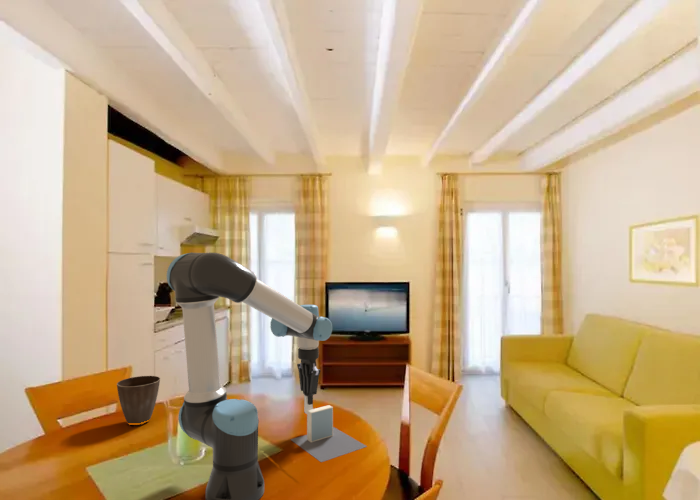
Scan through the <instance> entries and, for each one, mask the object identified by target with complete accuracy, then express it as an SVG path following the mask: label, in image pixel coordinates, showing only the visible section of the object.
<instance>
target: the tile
mask: <svg viewBox="0 0 700 500" xmlns="http://www.w3.org/2000/svg"><path fill="white" fill-rule="evenodd" d="M333 427H334V406H332V405H330V404H328V405H324V406H320V407H317V408H316V407H315V408H313V409H311V410H307V414H306V435H307V440H308V441H310V442H314V441H317V440H321V439H324V438H327V437H330V436H333Z"/></svg>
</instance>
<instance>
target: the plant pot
mask: <svg viewBox="0 0 700 500" xmlns="http://www.w3.org/2000/svg"><path fill="white" fill-rule="evenodd" d="M160 381H161V377H160V376H156V375H141V376H140V375H139V376H133V377H129V378H124V379H122V380H119V381H118V382H117V383H116V387H117V394H118V399H119V403H120V407H121V410H122V413H123V416H124V418H125V421H126V423H127V422H128V423H141V422H144V421H147V420H149V419H150V420H151V418H152V415H153V414H154V413H153V412H154V409H155V406H156V402H157V398H158V395H159V394H158V393H159V390H160V389H159V388H160ZM128 423H127V424H128Z"/></svg>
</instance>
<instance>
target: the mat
mask: <svg viewBox="0 0 700 500" xmlns="http://www.w3.org/2000/svg"><path fill="white" fill-rule="evenodd" d="M290 441H292V442H293V443H294V444H296V445H297V446H299V447H300V448H301V449H302V450H303V451H305V452H306V453H308V454H309V455H311V456H312V457H313V458H315V459H316V460H317V461H319V462H320V463H323V462H326V461H329V460H332V459H335V458H338V457H341V456H343V455H344V456H345V455H347V454H350V453H354V452H356V451H359V450H361V449H365V448H367V447H368V446H367V445H366V444H364V443H362V442H360V441H359V440H357V439H355V438H354V437H352V436H351V435H348V434H347V433H345V432H343V431H341V430H339V429H338V428H337V427H335V426H333V436H330V437H327V438H324V439H321V440H317V441H314V442H310V441H308V440H307V434H304V435H300V436H298V437H293V438H290Z"/></svg>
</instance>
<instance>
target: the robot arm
mask: <svg viewBox="0 0 700 500" xmlns="http://www.w3.org/2000/svg"><path fill="white" fill-rule="evenodd" d="M166 281H167V284H168V286H169V287H170V288H171V290H173V291H174V296H175V297H174V298H175V303H176V304H177V305H178V306H180V307H181V310H182V320H183V333H184V344H185V357H186V359H185V360H186V369H187V380H188V381H187V382H188V383H187V384H188V391H187V392H186V393H185V394H184V396H183V403H182V406H181V407H180V409H179V411H178V416H177V417H178V424H179V427H180V429H181V431H182V432H184V433H185V434H186V435H187V436H188V437H189V438H190V439H193V440H195V441H199V442H200V443H202V444H204V445H206V446H208V447H210V448H212V468H211V472H210V475H209V478H208V481H207V484H206V487H205V500H260V499H261V498H262V497H263V495H264V493H265V479H264V476H263V472H262V470H261V468H260V463H259V459H258V458H259V456H258V455H259V454H258V453H259V422H260V421H259V414H258V413H259V411H258V409H257V407H256V405H255V404H254V403H253V402H251V401H248V400H246V399H238V398H230V399H229V398H228V395H227V388H226V387H225V386H223V385H222V384H221V378H220V377H221V376H220V375H221V374H220V364H219V363H220V361H219V351H218V350H219V349H218V342H217V341H218V340H217V339H218V337H217V328H216V314H215V303H216V302H217V301H218V300H219V299H220V297H221V298H225V299H227V300H230V301H232V302H234V303H236V304H240V303H244V304H245V305H248V306H249V307H251V308H253V309H254V310H257V311H258V312H260V313H262V314H264V315H265V316H268V317H269V318H271V319H270V326H269V328H270V331H271V333H272V334H273V336H275V337H278V338H279V337H280V338H281V337H287V336H290V337H295V338H296V337H297V346H298V348H297V358H298V359H299V360H300V362H299V363H297V370H298V379H299V387H300V391H301V392H302V393H303V396H304V397H303V407H304V409H303V411H304V413H305V414H306V415H307V410H311V409H314V407H313V405H314V395H317V393H318V388H319V387H318V386H319V378H320V374H321V369H318V368H317V359H318V358H319V356H320V355H319V354H320V352H319V351H320V350H319V345H320V343H319V342H320V341H327V340H328V339H330V337H331V335H332V333H333V323H332V321H331V320H330V319H329V318H328V317H324V316H320V314H319V307H318V305H316V304H300V305H299V304H298V303H297V302H296V301H293V300H292V299H290V298H289V297H286V296H285V295H284V294H282V293H280V292H279V291H277V290H276V289H275V288H272V287H271V286H269V285H267V284H266V283H265V282H263V281H262V280H260V279H258V277H257V274H256V273H255V272H254V271H252V270H251V269H249V268H247V267H246V266H245V265H243V264H242V263H239V262H238V261H237V260H235V259H233V258H230V257H229V256H228V255H224V254H222V253H218V252H189V253H184V254H181V255H178V256H176V257H175V258H174V259H173V260H172V262H170V263H169V265H168V267H167V271H166Z"/></svg>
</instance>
